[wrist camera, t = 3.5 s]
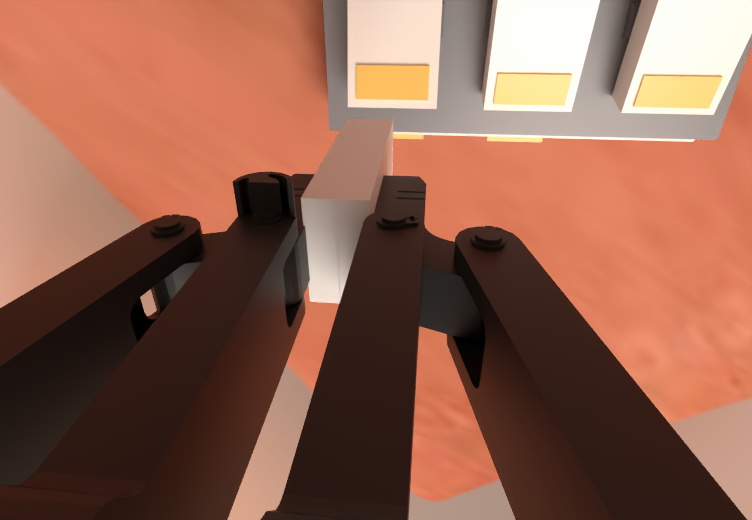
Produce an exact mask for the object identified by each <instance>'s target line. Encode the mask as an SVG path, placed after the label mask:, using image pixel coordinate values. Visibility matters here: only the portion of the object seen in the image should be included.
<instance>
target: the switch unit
mask: <svg viewBox="0 0 752 520" xmlns="http://www.w3.org/2000/svg"><path fill="white" fill-rule="evenodd" d="M640 3H641V0H600V3H599V7H598V11H597V14H596V18H595V22H594V26H593V30H592V34H591V38H590V41H589V45H588V49H587V53H586V57H585V61H584V65H583V69H582V72H581V76H580V80H579V84H578V88H577V92H576V96H575V99H574V103H573V107H572V111H571V112H550V111H502V110H484V109H483V101H482V86H483V78H484V70H485V62H486V54H487V46H488V38H489V29H490V21H491V13H492V5H493V0H442V18H441V36H440V55H439V73H438V92H437V109H411V108H363V107H348V0H323V13H324V32H325V50H326V69H327V87H328V106H329V124H330V130H341V129H342V127H343V126H344V124H345V122H346V121H347V119H348V118H359V119H393V138H398V139H423V135H453V136H486V140H487V141H512V142H542V138H570V139H610V140H649V141H688V142H694V140H695V139H700V140H718V137H719V134H720V131H721V129H722V126H723V123H724V120H725V117H726V115H727V112H728V109H729V106H730V103H731V101H732V98H733V95H734V92H735V89H736V86H737V84H738V81H739V78H740V75H741V72H742V70H743V67H744V64H745V61H746V58H747V56H748V53H749V50H750V47H751V44H752V34H751V36H750V38H749V40H748V43H747V45H746V47H745V49H744V51H743V53H742V55H741V57H740V60H739V62H738V64H737V66H736V68H735V70H734V72H733V74H732V77H731V79H730V81H729V83H728V85H727V87H726V89H725V91H724V94H723V96H722V98H721V100H720V102H719V104H718V106H717V108H716V111H715V113H714V115H696V114H647V113H621V112H620V110H619V108H618V106H617V105H616V103H615V101H614V99H613V97H612V93H613V90H614V87H615V84H616V81H617V77H618V74H619V71H620V68H621V65H622V61H623V58H624V55H625V52H626V48H627V45H628V42H629V39H630V36H631V32H632V29H633V26H634V23H635V19H636V16H637V13H638V10H639V7H640Z"/></svg>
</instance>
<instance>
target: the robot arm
mask: <svg viewBox="0 0 752 520" xmlns="http://www.w3.org/2000/svg"><path fill="white" fill-rule="evenodd" d="M233 187H234V193H235V199H236V205H237V211H238V217H237V218H236V219H235V221H234V222H233V223H232V225H231V226H230V227H229V228H228V230H227V231H225V232H218V233H209V234H202V230H201V226H200V222H199V221H198V220H197V219H196V218H193V217H190V216H180V215H171V216H170V215H166V216H162V217H161V218H158V219H154V220H152V221H149V222H147V223H145V224H143V225H141V226H140V227H138V228H136V229H134V230H133V231H131V232H129V233H128V234H126V235H124V236H122V237H121V238H119V239H117V240H116V241H114V242H112V243H111V244H109V245H107V246H105V247H104V248H102V249H100V250H99V251H97V252H95V253H94V254H92V255H90V256H88V257H87V258H85V259H83V260H82V261H80V262H78V263H77V264H75V265H73V266H71V267H70V268H68V269H66V270H65V271H63V272H61V273H59V274H58V275H56V276H55V277H53V278H51V279H49V280H48V281H46V282H45V283H43V284H41V285H39V286H37V287H36V288H34V289H32V290H31V291H29V292H27V293H26V294H24V295H22V296H20V297H19V298H17V299H15V300H14V301H12V302H10V303H8V304H7V305H5V306H4V307H2V308H0V520H227V519H228V516H229V514H230V511H231V508H232V506H233V503H234V500H235V498H236V495H237V492H238V490H239V487H240V485H241V482H242V479H243V477H244V474H245V471H246V468H247V466H248V463H249V461H250V458H251V455H252V453H253V450H254V447H255V445H256V442H257V439H258V437H259V434H260V431H261V429H262V426H263V424H264V421H265V418H266V416H267V413H268V410H269V408H270V405H271V402H272V400H273V397H274V394H275V392H276V389H277V386H278V384H279V381H280V378H281V376H282V373H283V370H284V368H285V365H286V363H287V360H288V357H289V355H290V352H291V349H292V347H293V344H294V341H295V339H296V336H297V333H298V331H299V328H300V325H301V323H302V320H303V317H304V315H305V300H304V293H305V290H306V288H307V286H308V284H309V295H310V302H326V303H340V304H339V307H338V310H337V314H336V317H335V321H334V324H333V327H332V331H331V334H330V337H329V341H328V344H327V348H326V351H325V354H324V358H323V361H322V365H321V368H320V371H319V375H318V378H317V382H316V385H315V388H314V392H313V395H312V398H311V402H310V405H309V409H308V412H307V416H306V419H305V422H304V426H303V429H302V432H301V436H300V439H299V443H298V446H297V449H296V453H295V456H294V459H293V463H292V466H291V470H290V473H289V477H288V480H287V483H286V487H285V490H284V493H283V496H282V499H281V502H280V504H279V506H278V507H277V509H276V510H273V511H267V512H266V513H265V514H264V516H263V517H262V519H261V520H408V518H409V498H410V482H411V463H412V445H413V427H414V408H415V390H416V372H417V353H418V337H419V326H421V327H425V328H428V329H431V330H435V331H438V332H442V333H445V334H447V345H448V347H449V350H450V353H451V355H452V358H453V360H454V363H455V365H456V368H457V370H458V373H459V376H460V378H461V381H462V383H463V386H464V388H465V391H466V393H467V396H468V399H469V401H470V404H471V406H472V409H473V411H474V414H475V417H476V419H477V422H478V424H479V427H480V429H481V432H482V434H483V437H484V440H485V442H486V445H487V447H488V450H489V452H490V455H491V457H492V460H493V463H494V465H495V468H496V470H497V473H498V475H499V478H500V481H501V483H502V486H503V488H504V491H505V493H506V496H507V498H508V501H509V504H510V506H511V509H512V511H513V514H514V516H515V519H516V520H747V519H746V518H745V517H744V515H743V514H742V513H741V512H740V510H739V509H738V508H737V507H736V505H735V504H734V503H733V502H732V501H731V499H730V498H729V497H728V496H727V494H726V493H725V492H724V491H723V490H722V488H721V487H720V486H719V485H718V483H717V482H716V481H715V480H714V478H713V477H712V476H711V475H710V473H709V472H708V471H707V470H706V468H705V467H704V466H703V465H702V464H701V462H700V461H699V460H698V459H697V457H696V456H695V455H694V454H693V453H692V451H691V450H690V449H689V447H688V446H687V445H686V444H685V443H684V441H683V440H682V439H681V438H680V436H679V435H678V434H677V433H676V431H675V430H674V429H673V428H672V426H671V425H670V424H669V423H668V422H667V420H666V419H665V418H664V417H663V415H662V414H661V413H660V412H659V410H658V409H657V408H656V407H655V405H654V404H653V403H652V402H651V401H650V399H649V398H648V397H647V396H646V394H645V393H644V392H643V391H642V389H641V388H640V387H639V386H638V385H637V383H636V382H635V381H634V380H633V378H632V377H631V376H630V375H629V373H628V372H627V371H626V370H625V368H624V367H623V366H622V365H621V364H620V362H619V361H618V360H617V359H616V357H615V356H614V355H613V354H612V352H611V351H610V350H609V349H608V347H607V346H606V345H605V344H604V343H603V341H602V340H601V339H600V338H599V336H598V335H597V334H596V333H595V331H594V330H593V329H592V328H591V327H590V325H589V324H588V323H587V322H586V320H585V319H584V318H583V317H582V315H581V314H580V313H579V312H578V310H577V309H576V308H575V307H574V306H573V304H572V303H571V302H570V301H569V299H568V298H567V297H566V296H565V294H564V293H563V292H562V291H561V289H560V288H559V287H558V286H557V285H556V283H555V282H554V281H553V280H552V278H551V277H550V276H549V275H548V273H547V272H546V271H545V270H544V269H543V267H542V266H541V265H540V264H539V262H538V261H537V260H536V259H535V257H534V256H533V255H532V254H531V252H530V251H529V250H528V249H527V248H526V246H525V245H524V244H523V243H522V241H521V240H520V239H519V238H518V237H516V236H515V235H514V234H513V233H510V232H508V231H505V230H503V229H501V228H498V227H495V228H494V227H493V226H485V227H473V228H467V229H465V230H463V231H461V232H459V233H458V235H457V236H456V238H455V242H453V241H448V240H445V239H441V238H439V237H436V236H434V235H432V234H431V233H430V232H428V231H427V229H426V228H425V225H424V216H425V196H426V183H425V182H424V181H423V180H422V179H421V178H420V177H416V176H393V119H359V118H348V119H347V121H346V122H345V124H344V126H343V127H342V129H341V131H340V132H339V134H338V136H337V138H336V139H335V141H334V143H333V144H332V146H331V148H330V149H329V151H328V153H327V154H326V156H325V158H324V160H323V161H322V163H321V165H320V166H319V168H318V170H317V171H316V173H315V174H294V175H293V176H291V177H290V176H289V175H286V174H283V173H278V172H258V173H252V174H247V175H244V176H241V177H239V178H237V179H236V180H234V181H233ZM150 289H151V291H152V295H153V298H154V302H155V305H156V309H157V311H156V312H154V313H153V314H152V315H150V316H148V317H147V316H146V314H145V312H144V309H143V306H142V302H141V299H140V297H141V296H142V295H143V294H145V293H146V292H147V291H148V290H150Z"/></svg>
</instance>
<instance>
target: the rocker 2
mask: <svg viewBox="0 0 752 520" xmlns="http://www.w3.org/2000/svg"><path fill="white" fill-rule="evenodd" d="M599 3H600V0H493V5H492V13H491V21H490V29H489V38H488V46H487V54H486V62H485V70H484V78H483V86H482V101H483V109H484V110H502V111H550V112H571V111H572V107H573V103H574V99H575V96H576V92H577V88H578V84H579V80H580V76H581V72H582V69H583V65H584V61H585V57H586V53H587V49H588V45H589V41H590V38H591V34H592V30H593V26H594V22H595V18H596V14H597V11H598V7H599Z"/></svg>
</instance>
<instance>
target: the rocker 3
mask: <svg viewBox="0 0 752 520" xmlns="http://www.w3.org/2000/svg"><path fill="white" fill-rule="evenodd" d="M751 34H752V0H641V3H640V7H639V10H638V13H637V16H636V19H635V23H634V26H633V29H632V32H631V36H630V39H629V42H628V45H627V48H626V52H625V55H624V58H623V61H622V65H621V68H620V71H619V74H618V77H617V81H616V84H615V87H614V90H613V93H612V97H613V99H614V101H615V103H616V105H617V106H618V108H619V110H620V112H621V113H647V114H696V115H714V113H715V111H716V108H717V106H718V104H719V102H720V100H721V98H722V96H723V94H724V91H725V89H726V87H727V85H728V83H729V81H730V79H731V77H732V74H733V72H734V70H735V68H736V66H737V64H738V62H739V60H740V57H741V55H742V53H743V51H744V49H745V47H746V45H747V43H748V40H749V38H750V36H751Z"/></svg>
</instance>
